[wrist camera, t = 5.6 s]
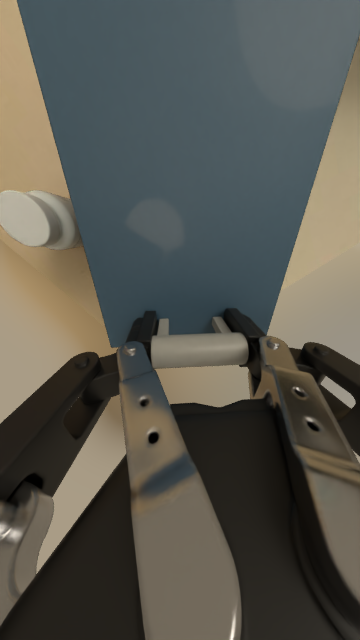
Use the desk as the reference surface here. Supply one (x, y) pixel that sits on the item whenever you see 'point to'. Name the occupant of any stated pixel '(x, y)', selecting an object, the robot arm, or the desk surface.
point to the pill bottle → (39, 219)
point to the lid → (190, 151)
